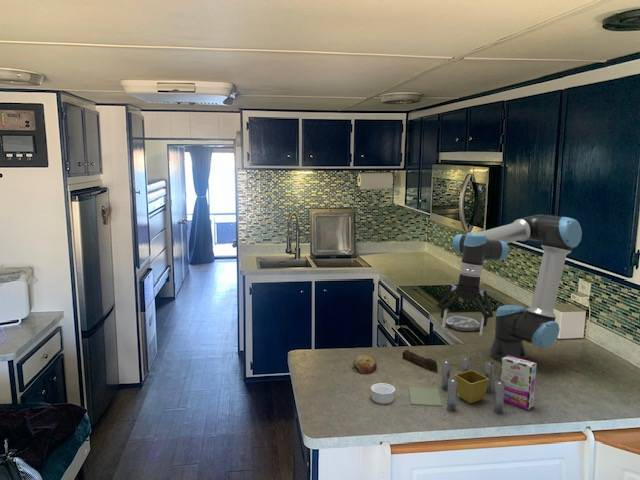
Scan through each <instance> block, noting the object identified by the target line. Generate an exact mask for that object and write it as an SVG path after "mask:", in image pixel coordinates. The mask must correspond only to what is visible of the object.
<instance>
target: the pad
mask: <svg viewBox="0 0 640 480" xmlns="http://www.w3.org/2000/svg"><path fill="white" fill-rule="evenodd" d="M408 393H409V401H410V405H411V406H423V407H424V406H425V407H426V406H427V407H443V403H442V400H441V396H440V395H441V394H440V393H439V388H428V387H411V386H410V387H408Z"/></svg>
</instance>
